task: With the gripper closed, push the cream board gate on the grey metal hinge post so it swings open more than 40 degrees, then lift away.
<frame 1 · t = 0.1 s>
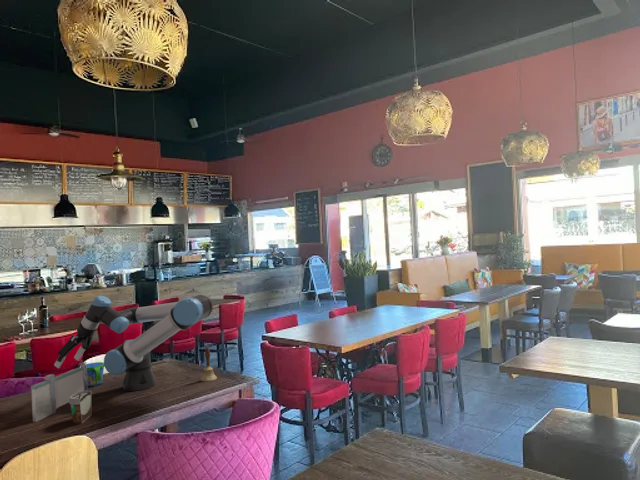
hand: (66, 362, 225), 15 cm above the table, tool tilted 35°, fingers open, 13 cm apart
gate: (68, 386, 210), point 8 cm above the table, hinge at 0.0°
hand bell: (208, 379, 239), on the table
fence: (85, 396, 220), on the table
snack cup: (94, 385, 241), on the table
food container: (78, 420, 190), on the table
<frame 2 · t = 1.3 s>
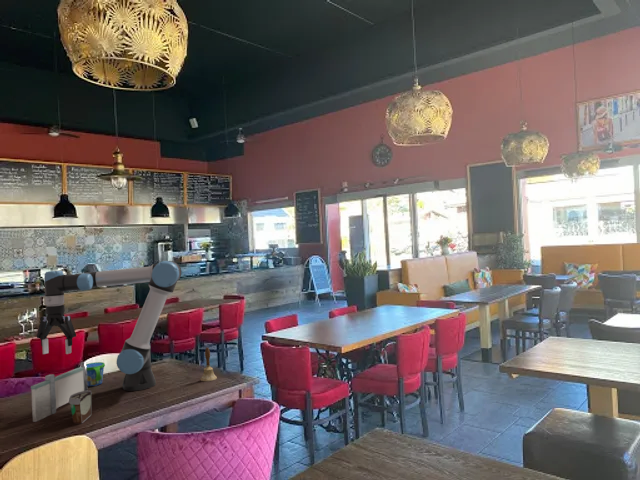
hand: (57, 353, 214), 22 cm above the table, tool pointing down, fingers open, 11 cm apart
nothing on the table moved.
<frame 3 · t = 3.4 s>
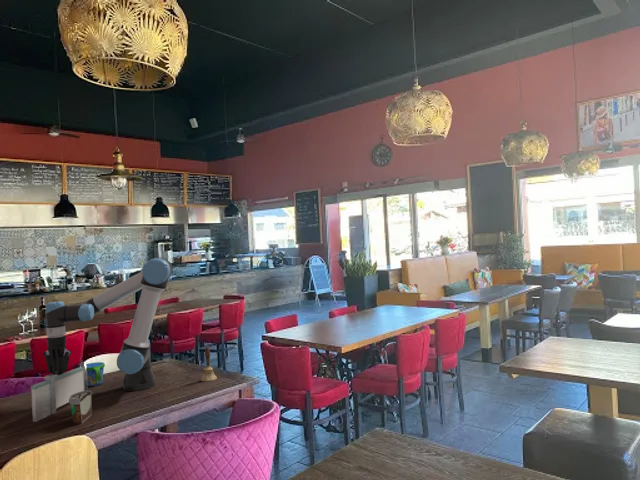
hand: (58, 388, 214), 6 cm above the table, tool pointing down, fingers closed
nothing on the table moved.
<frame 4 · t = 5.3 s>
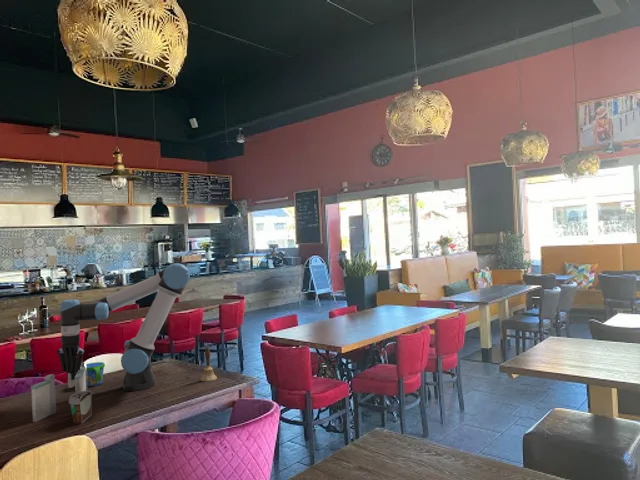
hand: (71, 386, 213), 7 cm above the table, tool pointing down, fingers closed
gate: (80, 386, 210), point 8 cm above the table, hinge at 29.6°, touching gripper, hand
everything else where it was.
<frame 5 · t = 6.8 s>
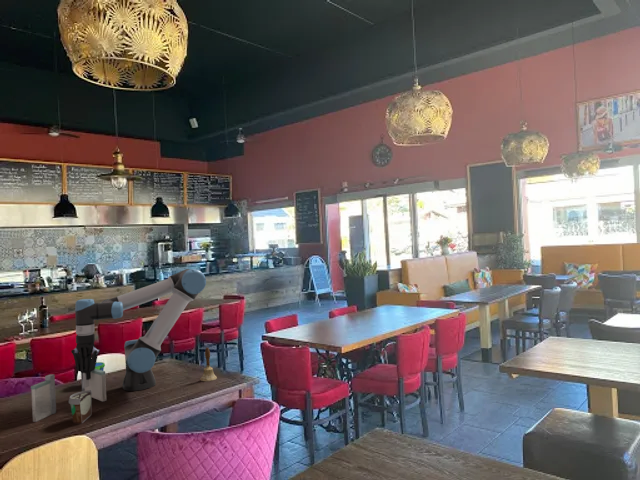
hand: (86, 386, 211), 7 cm above the table, tool pointing down, fingers closed
gate: (94, 383, 214), point 8 cm above the table, hinge at 59.6°, touching gripper, hand
everything else where it was.
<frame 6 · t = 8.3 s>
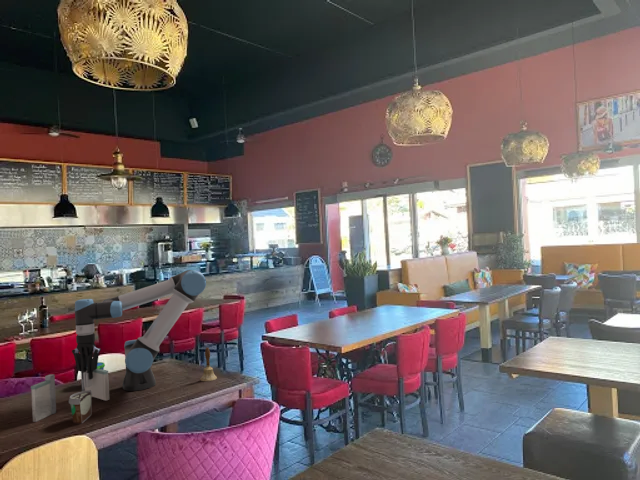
hand: (87, 386, 212), 7 cm above the table, tool pointing down, fingers closed
gate: (96, 382, 214), point 8 cm above the table, hinge at 63.6°
everything else where it was.
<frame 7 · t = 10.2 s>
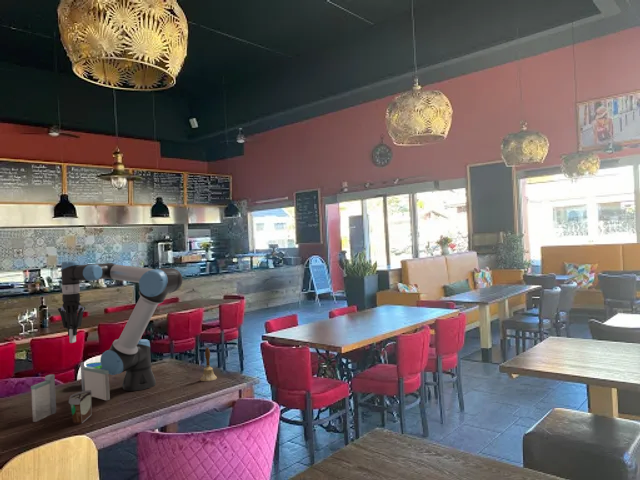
hand: (72, 342, 227), 24 cm above the table, tool pointing down, fingers closed
gate: (96, 382, 214), point 8 cm above the table, hinge at 64.1°
everything else where it was.
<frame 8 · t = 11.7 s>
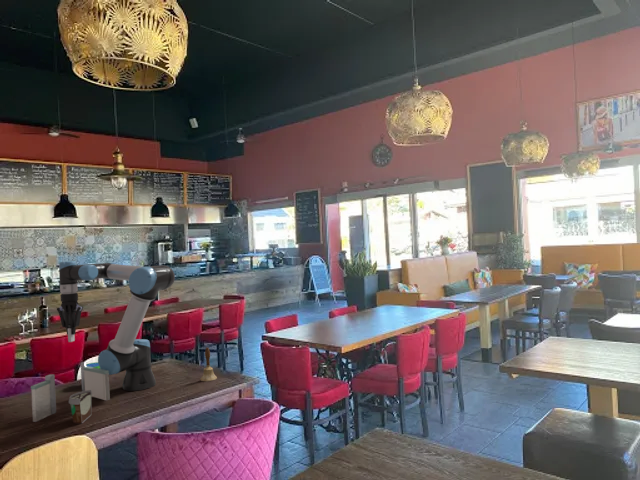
hand: (71, 341, 231), 24 cm above the table, tool pointing down, fingers closed
nothing on the table moved.
at the end: gate at +64° (first picture: +0°); the gripper is holding nothing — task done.
